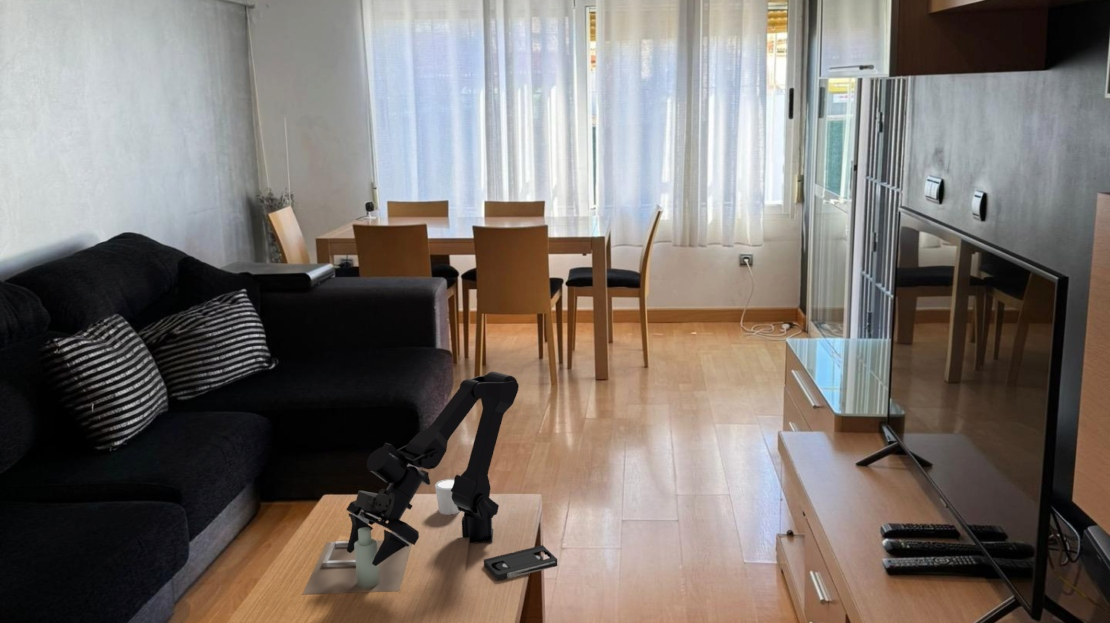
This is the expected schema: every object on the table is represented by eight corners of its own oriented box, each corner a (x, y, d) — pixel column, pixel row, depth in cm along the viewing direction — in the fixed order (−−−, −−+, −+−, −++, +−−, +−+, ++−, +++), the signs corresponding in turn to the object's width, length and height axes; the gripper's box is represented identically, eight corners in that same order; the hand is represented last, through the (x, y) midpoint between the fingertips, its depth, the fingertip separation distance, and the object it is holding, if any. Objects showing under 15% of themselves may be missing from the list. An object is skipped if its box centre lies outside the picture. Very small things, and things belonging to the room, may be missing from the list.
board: (413, 543, 228) (412, 535, 227) (399, 595, 204) (398, 586, 204) (326, 546, 228) (325, 538, 227) (302, 598, 204) (301, 590, 204)
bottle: (381, 577, 210) (377, 524, 208) (377, 587, 206) (373, 534, 203) (359, 577, 210) (355, 525, 208) (355, 588, 206) (351, 535, 203)
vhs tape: (497, 583, 209) (497, 574, 209) (484, 567, 216) (483, 559, 216) (558, 567, 215) (558, 559, 215) (542, 553, 222) (542, 545, 222)
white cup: (466, 504, 249) (465, 478, 247) (461, 516, 242) (459, 489, 240) (439, 504, 249) (438, 478, 248) (433, 515, 243) (432, 489, 241)
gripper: (350, 464, 212) (310, 529, 207) (404, 486, 199) (362, 556, 194) (382, 488, 219) (344, 551, 214) (436, 510, 207) (397, 578, 201)
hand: (360, 558), depth 206 cm, fingers open, 9 cm apart
